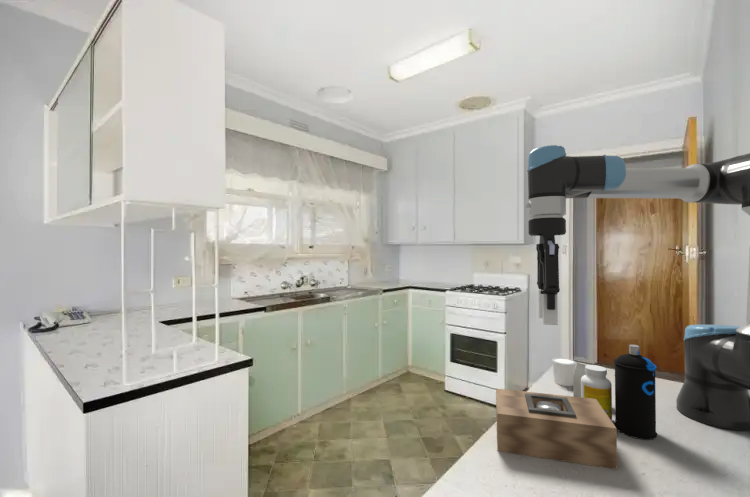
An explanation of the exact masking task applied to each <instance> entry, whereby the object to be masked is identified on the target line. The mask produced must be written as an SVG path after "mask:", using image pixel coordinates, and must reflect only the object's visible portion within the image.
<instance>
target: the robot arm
mask: <svg viewBox="0 0 750 497" xmlns="http://www.w3.org/2000/svg"><path fill="white" fill-rule="evenodd" d="M527 159H528V160H527V170H526V172H527V190H528V203H525V208H527V209H528V216H529V218H530V219H529V220H528V222H527V224H528V225H527V226H528V227H527V228H528V235H529V236H531V237H534V236H535V237H537V236H538V237H539V243H536V246H535V248H536V249H535V250H536V252H537V253H536V254H537V255H536V256H537V257H536V260H537V273H536V274H537V275H536V276H537V280H536V285H537V288H538V318H539V319H542V324H543V325H545V326H548V325H549V326H558V325H559V324H558V322H559V320H558V318H559V317H558V316H559V314H558V313H559V312H558V293H559V292H560V290H561V289H560V269H559V266H560V265H559V263H560V262H559V251H560V250H559V249H560V246H559V244H558V243H556V238H555V236H565V235H566V233H567V220H566V218H565V217H564V216H565V215H567V199H680V200H682V201H683V202H685V203H690V204H691V203H693V204H694V203H696V204H697V203H699V204H716V205H717V204H718V205H719V204H720V205H738V206H739V205H741V210H742V211H743V212H744V213H745V214H747V215H748V216H749V217H750V152H749V153H746V154H742V155H738V156H734V157H730V158H727V159H726V158H725V159H722V160H719V161H715V162H707V163H692V164H690V165H688V166H686V167H675V168H674V167H669V168H667V167H665V168H664V167H659V168H658V167H656V168H655V167H654V168H653V167H649V168H647V167H646V168H645V167H644V168H643V167H641V168H639V167H638V168H637V167H636V168H633V167H631V168H627V165H626V162H625V161H624V159H623V158H622V157H620V156H618V155H606V154H603V155H583V156H581V155H580V156H577V155H576V156H570V155H567V153H566V148H565V147H564V146H562V145H556V144H553V145H552V144H551V145H544V146H539V147H537V148H534V149H532V150H531V151H530V152H529V153H528V158H527ZM748 249H749V250H748V251H749V252H748V255H749V256H748V273H747V274H748V275H747V296H746V313H745V314H746V315H745V316H746V318H745V323H744V324H743V325H742V326H739V325H738V326H737V325H723V324H690V325H687V326H686V327H685V329H684V338H683V342H684V343H683V345H684V346H683V347H684V349H683V350H684V355H683V356H684V381H683V384H682V386H681V387H680V390H679V392H678V394H677V396H676V402H675V403H676V409H677V411H678V412H680V414H682V415H684V416H685V417H688V418H689V419H692V420H693V421H697V422H700V423H702V424H706V425H710V426H713V427H716V428H721V429H727V430H733V431H743V432H745V431H750V392H749V391H750V247H749V248H748Z"/></svg>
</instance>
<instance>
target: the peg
mask: <svg viewBox="0 0 750 497" xmlns="http://www.w3.org/2000/svg"><path fill="white" fill-rule="evenodd" d="M536 408H541V409H550V410H558V411H561V407H560V406H559V405H558V404H556V403H553V402H548V401H540V402H537V403H536Z"/></svg>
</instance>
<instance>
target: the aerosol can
mask: <svg viewBox="0 0 750 497" xmlns="http://www.w3.org/2000/svg"><path fill="white" fill-rule="evenodd" d="M628 349H629V350H628V353H625V354H621V355H619V356H618V357H616V358H615V359H613V363H614V398H615V399H614V403H615V406H614V410H615V412H614V415H615V416H614V417H615V418H614V420H615V422H614V423H613V424H614V425H615V427H616V429H617V431H618V432H620V433H622V434H623V435H626V436H627V437H631V438H634V439H637V440H639V439H640V440H646V441H647V440H655V439H656V438H657V437H658V433H657V425H656V423H657V419H656V418H657V416H656V414H657V413H656V412H657V410H656V409H657V408H656V404H657V403H656V398H657V397H656V370H657V368H658V367H657V365H656V364H654V362H652V361H651V359H649V358H647V357H646V356H643V355H641V354H640V346H639V345H637V344H629V347H628Z"/></svg>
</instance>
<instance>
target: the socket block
mask: <svg viewBox="0 0 750 497" xmlns="http://www.w3.org/2000/svg"><path fill="white" fill-rule="evenodd" d="M540 401H548V402H553V403H556V404H558V405H559V406H560V407H561V411H558V410H550V409H541V408H536V403H537V402H540ZM495 410H496V412H495V413H496V414H495V415H496V416H495V418H496V422H497V423H496V424H495V425H496V444H497V451H498V452H504V453H509V454H517V455H523V456H529V457H536V458H541V459H548V460H555V461H560V462H561V461H562V462H567V463H568V462H569V463H574V464H580V465H586V466H593V467H594V466H595V467H599V468H607V469H614V470H618V459H617V458H618V454H617V453H618V452H617V450H618V448H617V445H618V444H617V442H618V441H617V440H618V439H617V438H618V437H617V436H618V435H617V433H618V432H617V431H618V430H617V429H616V427H615V425H614V423H613V420H612V421H611V420H610V418H609V417H608V415H607V414H606V413H605V411H604V410H603V408H602V407H601V405H600V404H599V403H598V401H597V400H596V399H592V398H582V397H573V396H571V395H562V394H552V393H543V392H534V391H533V392H532V391H524V390H523V391H522V390H516V389H515V390H513V389H505V388H504V389H503V388H495Z"/></svg>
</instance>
